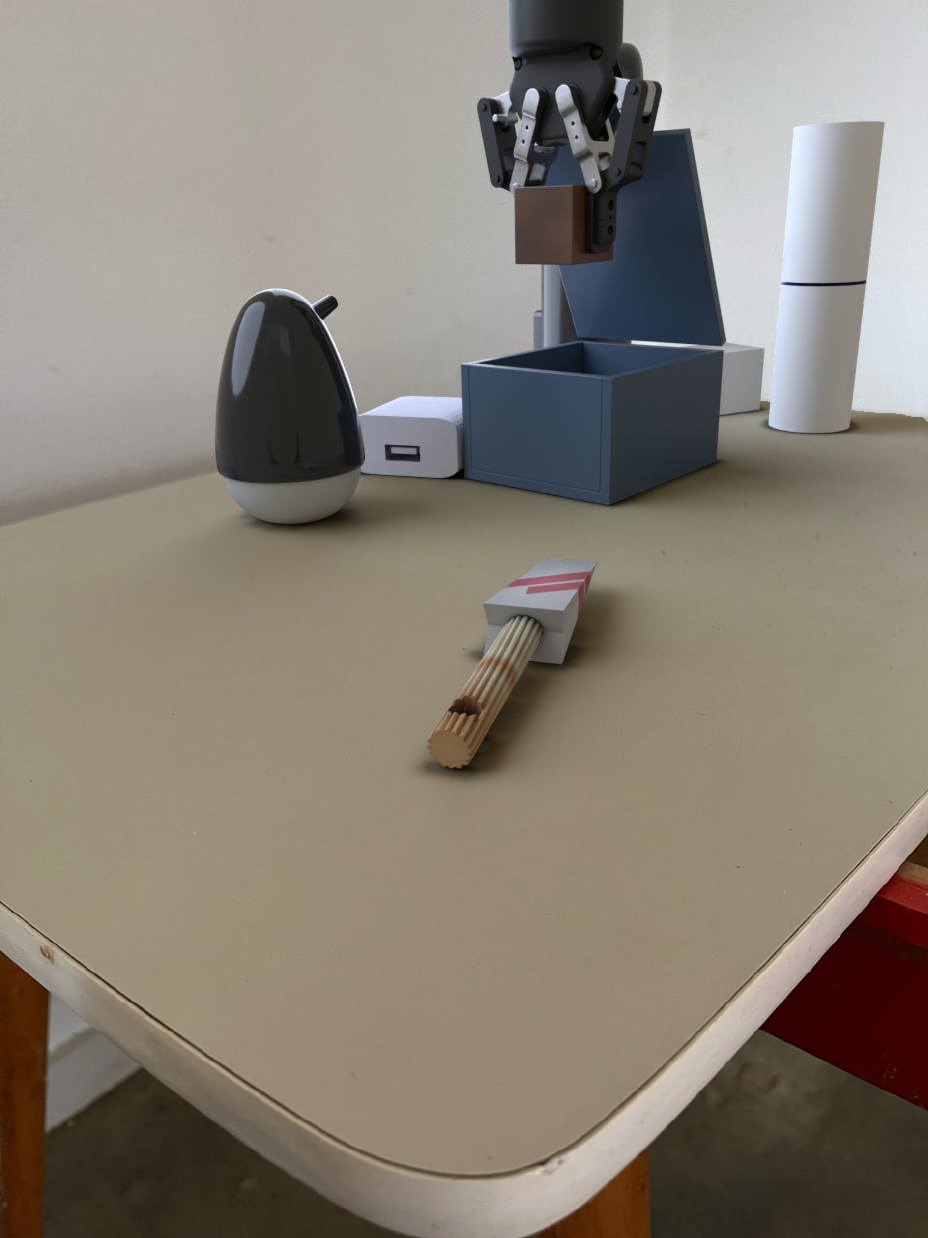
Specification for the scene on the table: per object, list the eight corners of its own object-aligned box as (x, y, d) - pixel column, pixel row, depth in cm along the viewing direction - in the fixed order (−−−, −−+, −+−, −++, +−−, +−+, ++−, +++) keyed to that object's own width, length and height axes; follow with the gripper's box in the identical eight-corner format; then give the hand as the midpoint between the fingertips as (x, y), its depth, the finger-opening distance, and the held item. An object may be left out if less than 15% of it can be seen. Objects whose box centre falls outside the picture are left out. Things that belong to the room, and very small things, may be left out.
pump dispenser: (400, 507, 71) (387, 283, 65) (290, 545, 64) (265, 296, 58) (304, 487, 77) (284, 281, 71) (193, 519, 70) (161, 292, 64)
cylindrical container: (756, 428, 92) (780, 126, 82) (785, 414, 97) (811, 129, 87) (834, 436, 88) (869, 119, 78) (860, 421, 93) (895, 123, 83)
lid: (685, 132, 66) (718, 100, 68) (524, 145, 75) (558, 116, 77) (722, 346, 77) (750, 313, 79) (577, 337, 85) (606, 306, 87)
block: (514, 264, 70) (513, 187, 69) (556, 259, 74) (556, 186, 72) (572, 264, 67) (572, 184, 65) (613, 260, 71) (615, 183, 69)
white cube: (711, 416, 97) (715, 353, 95) (674, 407, 102) (677, 347, 100) (760, 409, 100) (764, 347, 97) (721, 400, 105) (725, 341, 102)
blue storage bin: (609, 505, 70) (612, 378, 66) (464, 477, 78) (460, 363, 75) (716, 461, 80) (724, 349, 77) (578, 441, 89) (580, 340, 86)
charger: (514, 438, 91) (457, 479, 78) (421, 434, 94) (351, 472, 81) (514, 386, 89) (455, 418, 76) (418, 383, 92) (347, 414, 79)
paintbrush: (608, 536, 53) (493, 725, 36) (607, 584, 54) (495, 788, 37) (538, 531, 54) (395, 711, 37) (539, 577, 55) (400, 772, 38)
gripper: (694, -41, 62) (680, 250, 69) (514, -5, 71) (517, 249, 77) (628, -60, 57) (620, 256, 63) (443, -18, 66) (453, 255, 72)
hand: (563, 251), depth 70 cm, fingers closed on block, 5 cm apart
